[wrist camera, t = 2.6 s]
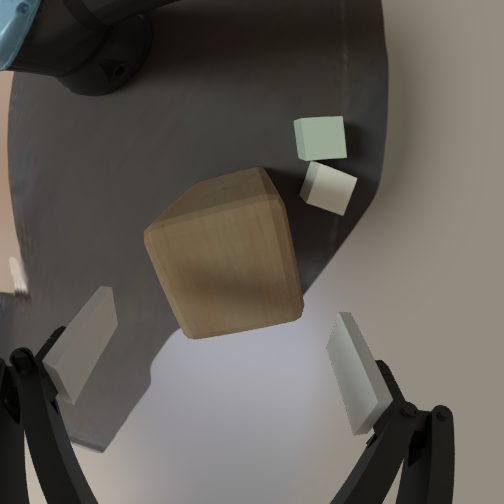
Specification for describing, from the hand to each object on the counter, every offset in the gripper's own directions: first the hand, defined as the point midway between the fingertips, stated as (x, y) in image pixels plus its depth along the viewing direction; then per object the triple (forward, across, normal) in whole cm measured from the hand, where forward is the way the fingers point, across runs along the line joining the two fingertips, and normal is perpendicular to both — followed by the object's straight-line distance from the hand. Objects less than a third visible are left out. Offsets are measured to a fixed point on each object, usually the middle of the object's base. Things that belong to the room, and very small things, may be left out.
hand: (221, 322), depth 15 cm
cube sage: (+24, +9, +11) cm, 28 cm away
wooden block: (+24, 0, 0) cm, 24 cm away
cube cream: (+24, +11, +5) cm, 27 cm away
